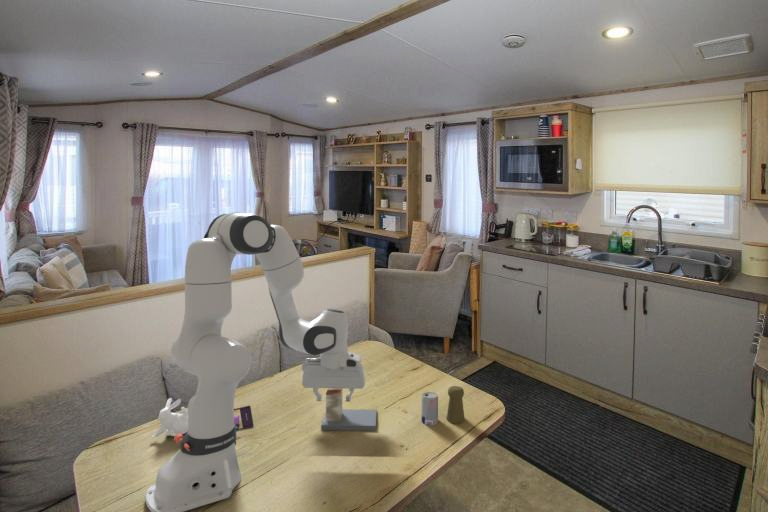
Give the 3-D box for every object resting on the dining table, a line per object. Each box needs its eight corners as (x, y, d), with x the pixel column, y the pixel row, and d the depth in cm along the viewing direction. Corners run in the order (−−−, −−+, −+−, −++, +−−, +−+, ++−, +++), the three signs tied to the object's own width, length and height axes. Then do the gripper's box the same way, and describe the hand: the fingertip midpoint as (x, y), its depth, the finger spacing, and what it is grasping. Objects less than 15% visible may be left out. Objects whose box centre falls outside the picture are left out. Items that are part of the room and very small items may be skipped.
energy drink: (427, 426, 143) (427, 390, 142) (441, 430, 139) (441, 394, 139) (418, 431, 138) (418, 395, 138) (432, 436, 135) (432, 399, 135)
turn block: (326, 421, 135) (326, 393, 135) (328, 413, 141) (328, 386, 141) (340, 421, 135) (340, 393, 135) (342, 413, 141) (342, 386, 141)
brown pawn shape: (445, 422, 138) (445, 389, 137) (447, 414, 144) (448, 383, 143) (463, 425, 136) (464, 391, 135) (465, 417, 142) (466, 384, 141)
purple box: (253, 425, 134) (223, 432, 130) (252, 430, 138) (223, 437, 134) (250, 404, 137) (220, 411, 133) (249, 410, 141) (220, 416, 137)
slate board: (376, 413, 144) (376, 409, 144) (375, 430, 132) (375, 425, 132) (326, 413, 144) (326, 409, 144) (321, 430, 132) (321, 425, 132)
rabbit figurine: (149, 438, 127) (148, 406, 126) (158, 427, 134) (158, 397, 134) (191, 435, 129) (190, 404, 128) (198, 424, 136) (198, 394, 136)
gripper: (299, 361, 134) (299, 404, 135) (364, 362, 134) (364, 405, 134) (303, 355, 140) (303, 396, 141) (365, 356, 140) (365, 397, 141)
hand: (333, 400), depth 138 cm, fingers open, 8 cm apart
